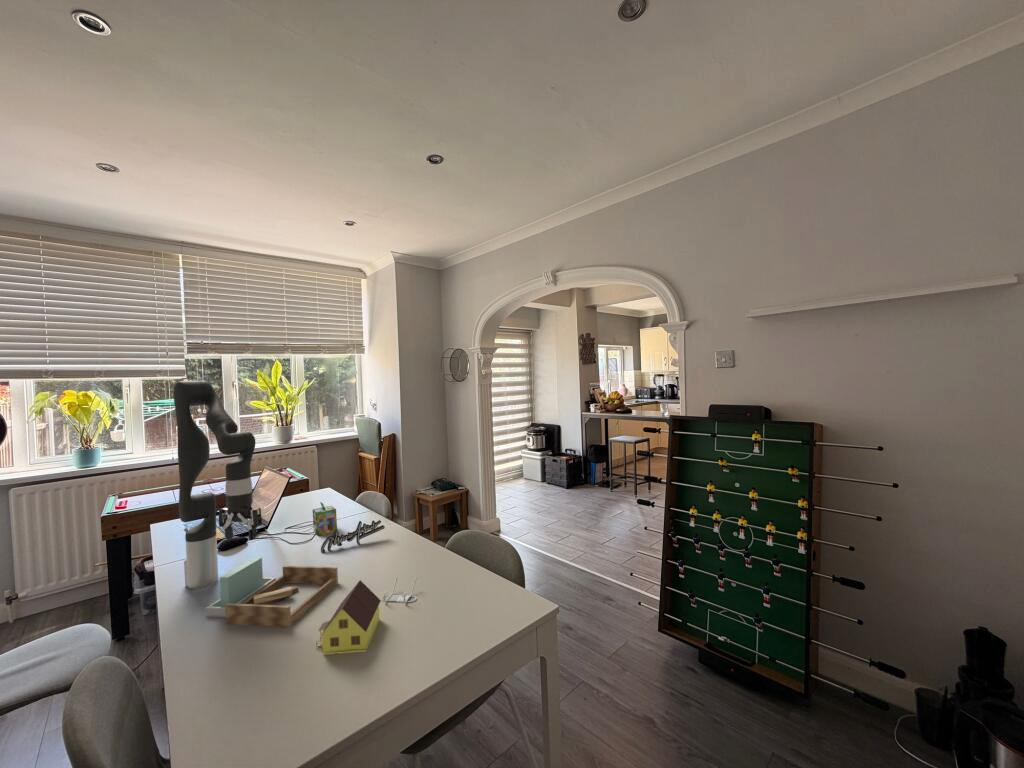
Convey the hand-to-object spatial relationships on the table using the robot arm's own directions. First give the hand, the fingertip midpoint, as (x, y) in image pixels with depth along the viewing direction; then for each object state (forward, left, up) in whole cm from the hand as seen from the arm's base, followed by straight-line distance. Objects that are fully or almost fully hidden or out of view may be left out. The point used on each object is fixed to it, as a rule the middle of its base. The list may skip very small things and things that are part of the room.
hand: (241, 539), depth 143 cm
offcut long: (+11, -1, -22) cm, 24 cm away
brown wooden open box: (+16, 0, -21) cm, 26 cm away
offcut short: (+12, -1, -19) cm, 23 cm away
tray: (0, 0, -21) cm, 21 cm away
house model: (+48, -16, -22) cm, 55 cm away
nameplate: (+15, +48, -21) cm, 55 cm away
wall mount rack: (+54, +6, -22) cm, 58 cm away
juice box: (-9, +63, -21) cm, 67 cm away
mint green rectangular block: (0, 0, -21) cm, 21 cm away
